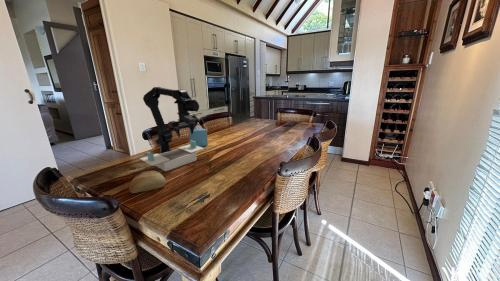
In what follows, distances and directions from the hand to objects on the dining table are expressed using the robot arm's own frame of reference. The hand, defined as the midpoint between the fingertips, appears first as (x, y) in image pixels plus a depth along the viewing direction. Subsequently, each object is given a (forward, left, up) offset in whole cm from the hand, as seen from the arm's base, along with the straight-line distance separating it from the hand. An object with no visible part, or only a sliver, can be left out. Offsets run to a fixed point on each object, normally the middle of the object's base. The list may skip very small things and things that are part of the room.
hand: (185, 135), depth 131 cm
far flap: (+5, -1, -8) cm, 9 cm away
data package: (-10, +16, -13) cm, 23 cm away
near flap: (+5, -23, -8) cm, 25 cm away
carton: (+5, -12, -13) cm, 18 cm away
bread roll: (+24, -36, -13) cm, 45 cm away
